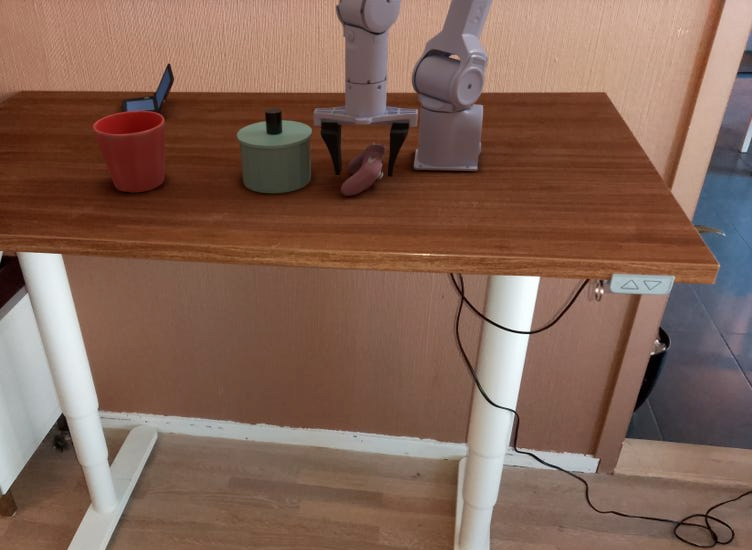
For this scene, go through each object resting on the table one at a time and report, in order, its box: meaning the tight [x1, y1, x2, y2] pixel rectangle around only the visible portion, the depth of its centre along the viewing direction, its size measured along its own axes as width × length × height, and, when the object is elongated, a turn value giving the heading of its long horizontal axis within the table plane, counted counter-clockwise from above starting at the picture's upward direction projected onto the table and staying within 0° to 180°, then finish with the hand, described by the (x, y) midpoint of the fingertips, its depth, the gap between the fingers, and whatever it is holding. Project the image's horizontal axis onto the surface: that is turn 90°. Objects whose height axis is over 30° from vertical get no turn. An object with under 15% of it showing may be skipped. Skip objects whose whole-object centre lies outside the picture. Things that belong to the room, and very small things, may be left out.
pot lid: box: [236, 107, 313, 149], centre depth 106 cm, size 11×11×4 cm
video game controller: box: [340, 141, 387, 197], centre depth 106 cm, size 10×5×7 cm, turn 168°
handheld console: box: [121, 62, 175, 116], centre depth 141 cm, size 12×11×7 cm
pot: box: [239, 138, 312, 194], centre depth 109 cm, size 10×10×7 cm
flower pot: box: [92, 111, 166, 193], centre depth 110 cm, size 11×11×10 cm
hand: (364, 173), depth 107 cm, fingers open, 7 cm apart
